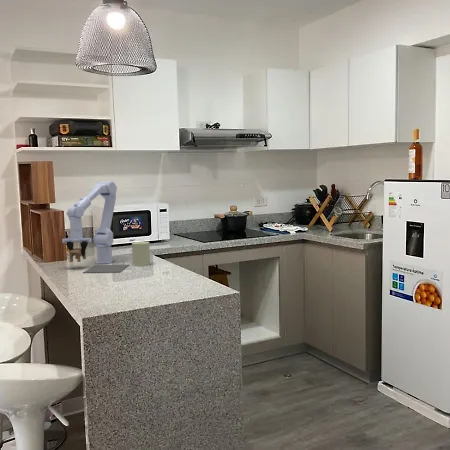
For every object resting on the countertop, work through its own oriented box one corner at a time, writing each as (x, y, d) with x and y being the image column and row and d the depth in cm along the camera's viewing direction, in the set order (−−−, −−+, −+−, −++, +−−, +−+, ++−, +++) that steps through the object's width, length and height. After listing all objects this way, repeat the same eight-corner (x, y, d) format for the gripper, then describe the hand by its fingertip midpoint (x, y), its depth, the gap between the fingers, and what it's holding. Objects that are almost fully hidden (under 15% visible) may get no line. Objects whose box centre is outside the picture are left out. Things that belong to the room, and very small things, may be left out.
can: (133, 266, 262) (132, 243, 261) (131, 263, 271) (130, 241, 270) (151, 265, 265) (150, 242, 264) (149, 262, 274) (148, 240, 273)
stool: (76, 258, 266) (75, 248, 266) (85, 258, 266) (85, 247, 265) (69, 262, 256) (69, 251, 256) (79, 261, 256) (79, 250, 256)
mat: (95, 265, 267) (95, 265, 267) (129, 265, 266) (129, 264, 266) (83, 273, 247) (82, 272, 247) (119, 272, 246) (119, 271, 246)
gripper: (59, 231, 256) (61, 257, 257) (87, 230, 255) (89, 257, 257) (64, 229, 263) (66, 255, 264) (92, 229, 262) (93, 255, 264)
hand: (77, 256), depth 261 cm, fingers closed on stool, 5 cm apart
